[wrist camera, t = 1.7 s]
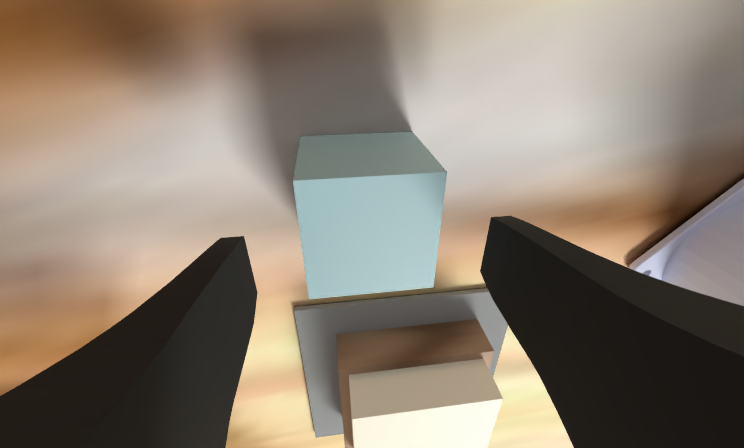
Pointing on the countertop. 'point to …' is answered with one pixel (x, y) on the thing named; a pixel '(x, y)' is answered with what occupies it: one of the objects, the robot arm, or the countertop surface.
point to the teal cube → (368, 212)
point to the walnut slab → (405, 353)
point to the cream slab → (425, 406)
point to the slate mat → (374, 314)
